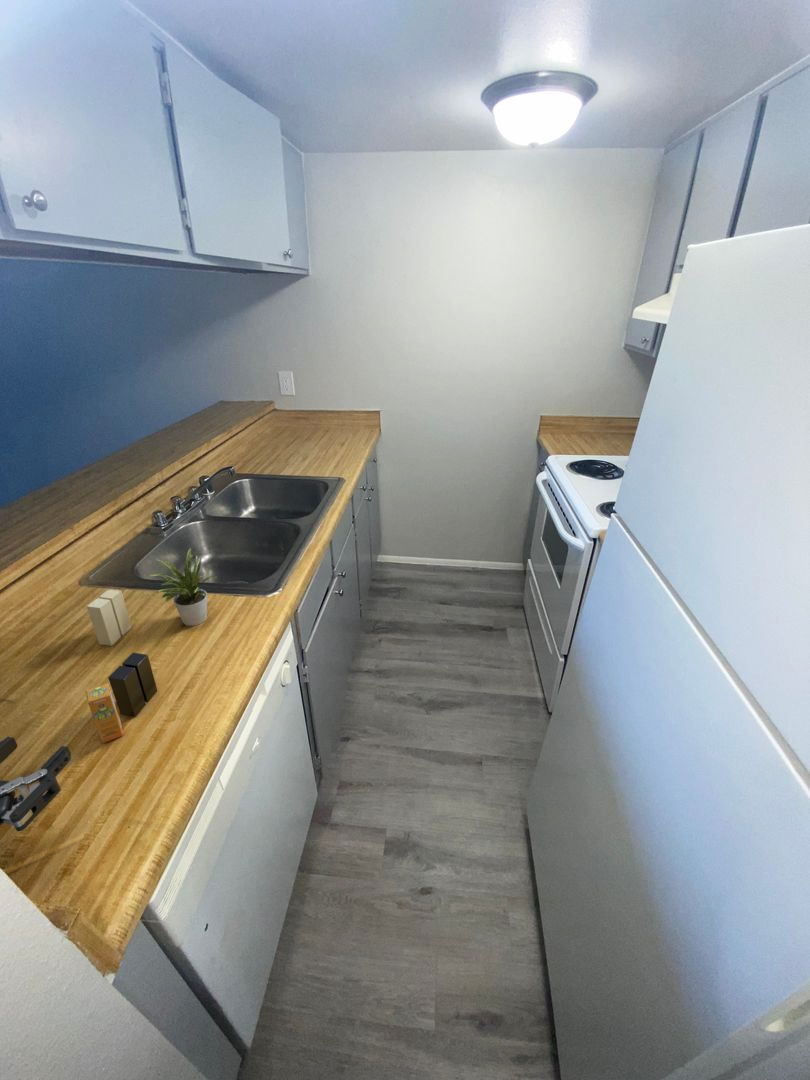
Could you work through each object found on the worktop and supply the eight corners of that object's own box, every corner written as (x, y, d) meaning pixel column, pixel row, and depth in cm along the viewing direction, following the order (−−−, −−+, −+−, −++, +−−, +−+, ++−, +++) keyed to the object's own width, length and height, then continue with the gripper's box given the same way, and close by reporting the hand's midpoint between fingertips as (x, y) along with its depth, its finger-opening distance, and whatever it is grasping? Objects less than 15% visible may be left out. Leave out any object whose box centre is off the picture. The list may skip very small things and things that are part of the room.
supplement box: (102, 745, 79) (85, 702, 75) (100, 731, 82) (84, 688, 77) (124, 736, 81) (109, 694, 76) (122, 723, 83) (108, 680, 79)
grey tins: (135, 717, 85) (123, 679, 80) (120, 714, 85) (107, 677, 81) (157, 690, 90) (147, 654, 86) (143, 688, 91) (132, 652, 87)
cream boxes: (111, 646, 101) (99, 607, 96) (99, 644, 101) (86, 606, 97) (131, 627, 107) (121, 590, 102) (119, 625, 107) (108, 589, 102)
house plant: (164, 603, 115) (149, 544, 108) (224, 595, 119) (214, 538, 112) (156, 640, 103) (139, 576, 96) (223, 629, 107) (212, 568, 100)
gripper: (-39, 858, 50) (78, 734, 64) (-153, 835, 52) (-14, 719, 66) (-13, 896, 53) (92, 770, 68) (-120, 873, 55) (5, 755, 69)
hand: (40, 745), depth 67 cm, fingers open, 8 cm apart
